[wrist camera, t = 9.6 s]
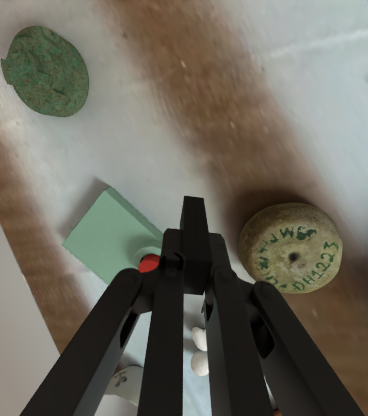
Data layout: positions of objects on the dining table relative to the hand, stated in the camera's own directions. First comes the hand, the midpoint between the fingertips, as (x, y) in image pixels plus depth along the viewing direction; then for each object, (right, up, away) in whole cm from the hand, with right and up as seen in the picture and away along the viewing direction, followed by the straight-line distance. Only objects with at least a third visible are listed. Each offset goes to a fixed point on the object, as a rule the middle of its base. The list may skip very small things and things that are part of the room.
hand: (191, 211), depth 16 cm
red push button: (-5, -9, +15) cm, 18 cm away
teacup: (-11, -39, +30) cm, 50 cm away
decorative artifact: (-19, +19, +13) cm, 30 cm away
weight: (+14, -5, +14) cm, 21 cm away
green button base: (-11, -6, +20) cm, 24 cm away
